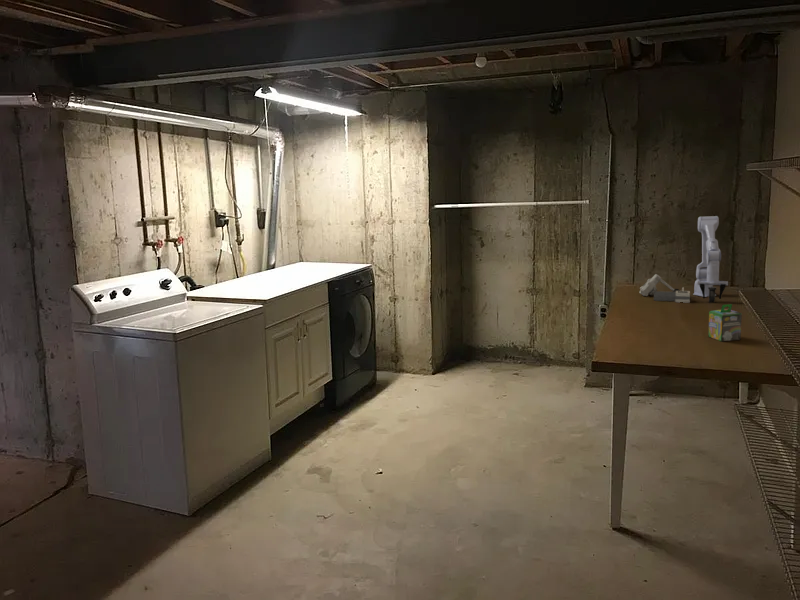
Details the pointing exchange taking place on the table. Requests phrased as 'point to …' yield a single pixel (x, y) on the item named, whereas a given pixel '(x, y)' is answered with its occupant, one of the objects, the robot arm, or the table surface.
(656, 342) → the table surface
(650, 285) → the mechanical valve
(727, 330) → the chalk box
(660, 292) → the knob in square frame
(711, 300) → the round dark gray knob
